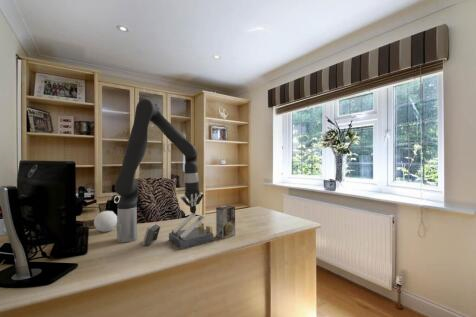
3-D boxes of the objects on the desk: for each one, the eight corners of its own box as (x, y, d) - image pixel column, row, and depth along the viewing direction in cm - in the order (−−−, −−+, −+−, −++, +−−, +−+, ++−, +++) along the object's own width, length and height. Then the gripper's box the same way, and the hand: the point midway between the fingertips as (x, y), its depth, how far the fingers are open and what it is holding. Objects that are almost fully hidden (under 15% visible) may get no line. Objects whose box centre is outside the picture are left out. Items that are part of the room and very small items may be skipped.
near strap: (182, 239, 111) (181, 238, 111) (180, 238, 113) (179, 236, 113) (204, 218, 118) (203, 216, 118) (202, 217, 121) (200, 215, 120)
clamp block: (180, 249, 109) (180, 235, 109) (168, 240, 121) (168, 227, 121) (213, 241, 120) (213, 227, 120) (199, 233, 132) (199, 221, 132)
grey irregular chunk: (150, 239, 123) (151, 222, 123) (159, 240, 123) (161, 223, 122) (141, 246, 114) (143, 227, 113) (152, 247, 113) (153, 228, 113)
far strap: (175, 234, 118) (174, 233, 118) (173, 233, 121) (172, 231, 120) (196, 214, 125) (195, 213, 125) (194, 213, 128) (192, 211, 127)
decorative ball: (121, 230, 138) (121, 210, 138) (99, 236, 128) (99, 214, 128) (111, 226, 145) (111, 207, 145) (90, 231, 135) (90, 211, 135)
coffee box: (228, 232, 134) (227, 204, 134) (235, 235, 129) (235, 206, 129) (215, 236, 127) (215, 207, 127) (223, 239, 123) (223, 209, 123)
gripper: (183, 183, 118) (184, 216, 119) (205, 180, 126) (207, 211, 127) (177, 182, 124) (179, 213, 125) (199, 179, 132) (200, 209, 133)
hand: (193, 212), depth 126 cm, fingers closed
